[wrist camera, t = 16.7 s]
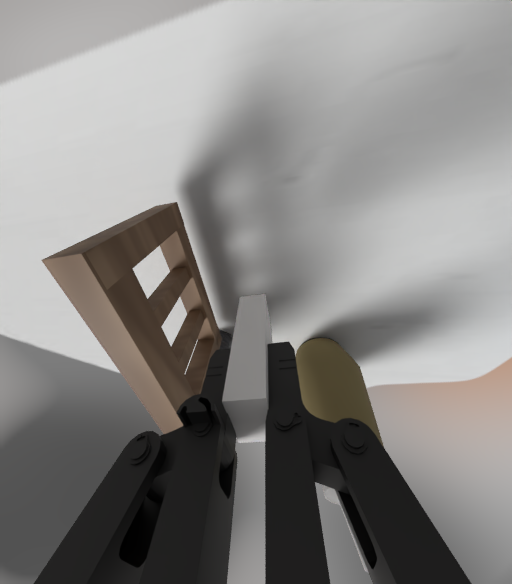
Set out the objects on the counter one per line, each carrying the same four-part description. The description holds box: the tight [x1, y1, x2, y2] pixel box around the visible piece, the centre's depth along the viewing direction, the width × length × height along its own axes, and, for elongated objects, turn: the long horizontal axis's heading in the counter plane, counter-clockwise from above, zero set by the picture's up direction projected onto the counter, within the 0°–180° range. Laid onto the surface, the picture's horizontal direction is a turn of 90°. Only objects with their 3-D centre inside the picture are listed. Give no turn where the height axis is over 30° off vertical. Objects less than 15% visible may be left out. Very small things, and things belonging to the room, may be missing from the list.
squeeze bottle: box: [295, 338, 384, 572], centre depth 22 cm, size 8×8×18 cm
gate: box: [42, 202, 222, 434], centre depth 18 cm, size 2×15×11 cm, turn 10°
